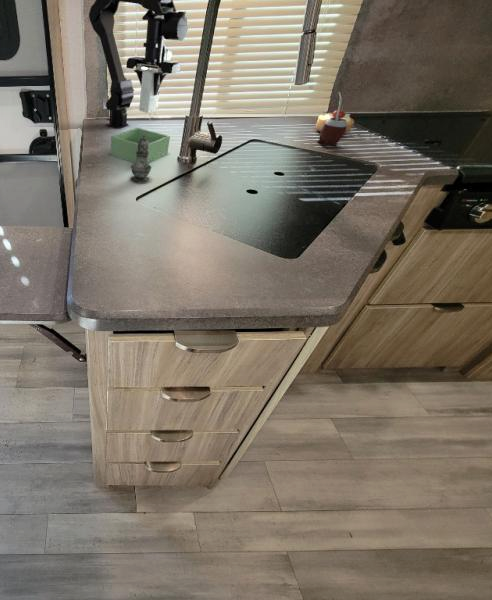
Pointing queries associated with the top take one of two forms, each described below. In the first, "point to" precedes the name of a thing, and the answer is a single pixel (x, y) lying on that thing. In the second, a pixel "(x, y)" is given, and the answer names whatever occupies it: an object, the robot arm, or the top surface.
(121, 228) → the top surface
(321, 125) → the pastry
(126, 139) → the green open box
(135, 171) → the grey tall ornate piece
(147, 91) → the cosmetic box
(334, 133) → the mate gourd
